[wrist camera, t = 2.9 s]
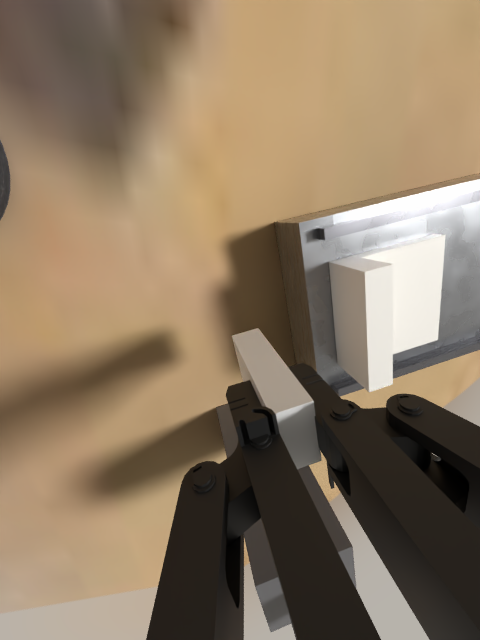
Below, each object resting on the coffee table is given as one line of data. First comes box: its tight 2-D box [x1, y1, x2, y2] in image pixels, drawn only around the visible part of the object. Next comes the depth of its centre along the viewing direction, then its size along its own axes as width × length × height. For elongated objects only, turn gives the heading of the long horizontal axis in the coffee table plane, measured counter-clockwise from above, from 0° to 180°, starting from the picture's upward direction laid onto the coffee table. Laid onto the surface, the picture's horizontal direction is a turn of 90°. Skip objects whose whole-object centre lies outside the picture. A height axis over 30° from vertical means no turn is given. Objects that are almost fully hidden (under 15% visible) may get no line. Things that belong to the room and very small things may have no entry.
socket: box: [274, 173, 480, 397], centre depth 20 cm, size 16×12×5 cm
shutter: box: [329, 234, 446, 392], centre depth 16 cm, size 7×7×3 cm
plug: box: [216, 404, 356, 632], centre depth 17 cm, size 4×4×14 cm
